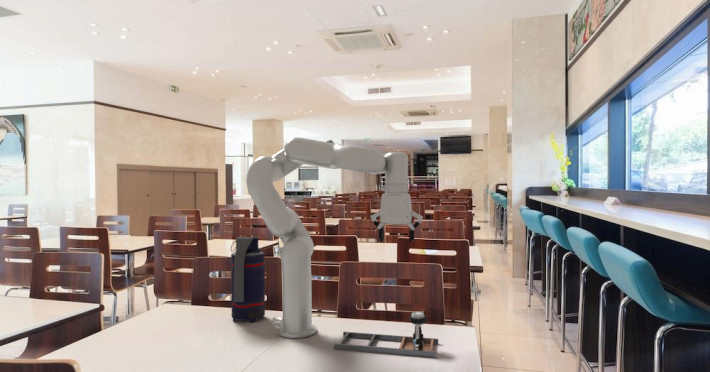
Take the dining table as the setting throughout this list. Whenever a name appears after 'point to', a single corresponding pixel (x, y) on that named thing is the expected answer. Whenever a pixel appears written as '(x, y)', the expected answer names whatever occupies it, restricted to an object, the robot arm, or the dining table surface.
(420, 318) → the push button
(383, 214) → the robot arm
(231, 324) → the dining table surface
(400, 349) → the divided tray
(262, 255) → the grenade
